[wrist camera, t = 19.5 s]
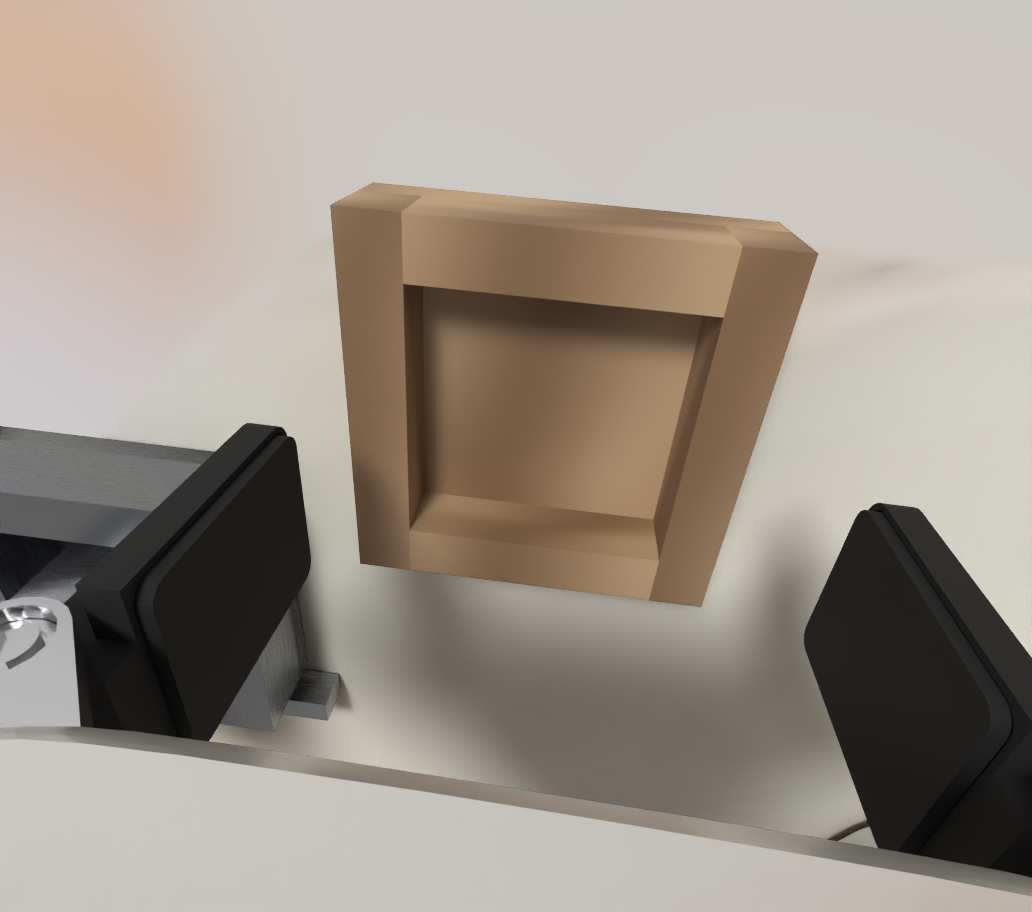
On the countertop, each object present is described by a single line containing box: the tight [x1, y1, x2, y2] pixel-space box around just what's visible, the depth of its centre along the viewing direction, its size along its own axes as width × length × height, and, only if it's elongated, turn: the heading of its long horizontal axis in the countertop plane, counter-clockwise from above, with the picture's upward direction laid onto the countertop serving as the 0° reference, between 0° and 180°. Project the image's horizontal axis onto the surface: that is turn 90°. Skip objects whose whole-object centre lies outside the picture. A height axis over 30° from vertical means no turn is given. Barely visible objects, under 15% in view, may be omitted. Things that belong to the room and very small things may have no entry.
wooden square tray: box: [330, 183, 818, 607], centre depth 13 cm, size 8×8×2 cm
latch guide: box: [283, 670, 340, 720], centre depth 22 cm, size 13×7×1 cm, turn 86°
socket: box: [0, 426, 308, 731], centre depth 17 cm, size 8×8×3 cm
